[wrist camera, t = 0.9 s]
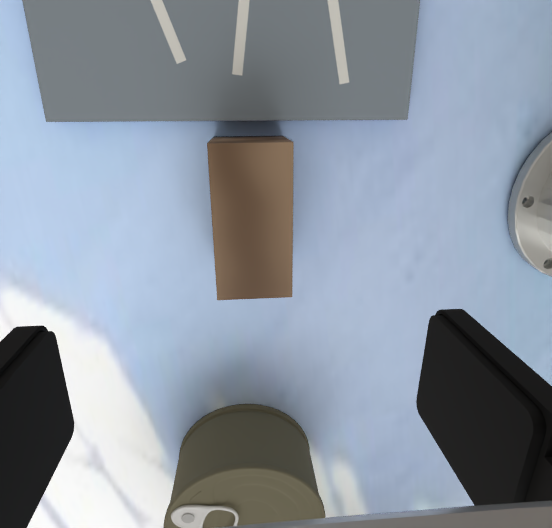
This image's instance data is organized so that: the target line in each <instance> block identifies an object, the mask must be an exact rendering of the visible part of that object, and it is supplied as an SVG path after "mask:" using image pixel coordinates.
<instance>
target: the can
mask: <svg viewBox="0 0 552 528" xmlns="http://www.w3.org/2000/svg"><path fill="white" fill-rule="evenodd" d="M320 518H325V511H324V506H323V503H322V500H321V498H320V496H319V493H318V489H317V484H316V479H315V475H314V470H313V465H312V460H311V456H310V452H309V445H308V441H307V438H306V435H305V433H304V431H303V430H302V428H301V427H300V426H299V424H298V423H297V422H296V421H295V420H294V419H292V418H291V417H290V416H288V415H287V414H285V413H283V412H281V411H279V410H277V409H274V408H271V407H268V406H263V405H257V404H239V405H232V406H227V407H224V408H221V409H218V410H215V411H213V412H211V413H209V414H207V415H206V416H204V417H203V418H201V419H200V420H199V421H197V422H196V423H195V424H194V425H193V426H192V427H191V428H190V430H189V431H188V432H187V434H186V436H185V437H184V440H183V442H182V445H181V448H180V454H179V460H178V465H177V470H176V475H175V481H174V486H173V491H172V496H171V501H170V504H169V506H168V509H167V512H166V515H165V520H164V528H217V527H228V526H240V525H251V524H262V523H274V522H285V521H297V520H308V519H320Z"/></svg>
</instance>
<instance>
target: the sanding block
mask: <svg viewBox="0 0 552 528" xmlns="http://www.w3.org/2000/svg"><path fill="white" fill-rule="evenodd" d="M207 149H208V164H209V180H210V195H211V210H212V226H213V241H214V256H215V271H216V287H217V300H232V299H256V298H281V297H292V254H293V142H292V141H290V140H289V139H287V138H286V137H284V136H223V137H213V138H212V139H211V140H210V141H209V142H208V143H207Z"/></svg>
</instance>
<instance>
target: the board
mask: <svg viewBox="0 0 552 528" xmlns="http://www.w3.org/2000/svg"><path fill="white" fill-rule="evenodd" d="M22 1H23V6H24V11H25V16H26V21H27V26H28V31H29V37H30V42H31V47H32V52H33V57H34V62H35V67H36V72H37V78H38V83H39V88H40V93H41V98H42V103H43V108H44V113H45V118H46V122H99V121H266V120H407V119H408V110H409V101H410V91H411V82H412V72H413V63H414V53H415V44H416V34H417V25H418V15H419V6H420V0H22Z"/></svg>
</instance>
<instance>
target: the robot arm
mask: <svg viewBox="0 0 552 528" xmlns="http://www.w3.org/2000/svg"><path fill="white" fill-rule="evenodd" d="M508 225H509V232H510V236H511V239H512V241H513V244H514V247H515V248H516V250H517V251H518V253H519V254H520V256H521V257H522V258H523V259H524V260H525V261H526V262H527V263H528V264H529V265H530V266H532V267H533V268H535V269H537V270H539V271H540V272H542V273H544V274H547V275H549V276H552V132H551V133H550V134H549V135H548V136H546V137H545V138H544V139H543V140H542V141H541V142H540V144H539V145H538V146H537V147H536V148H535V149H534V150H533V152H532V153H531V154H530V155H529V157H528V159H527V160H526V162H525V163H524V165H523V166H522V168H521V170H520V172H519V174H518V176H517V179H516V181H515V183H514V186H513V189H512V193H511V197H510V201H509V208H508ZM416 402H417V409H418V413H419V415H420V416H421V418H422V420H423V421H424V423H425V425H426V426H427V428H428V430H429V431H430V433H431V434H432V436H433V438H434V439H435V441H436V443H437V444H438V446H439V448H440V449H441V451H442V453H443V454H444V456H445V457H446V459H447V461H448V462H449V464H450V466H451V467H452V469H453V471H454V472H455V474H456V476H457V477H458V479H459V480H460V482H461V484H462V485H463V487H464V489H465V490H466V492H467V494H468V495H469V497H470V498H471V500H472V502H473V503H474V505H475V506H465V507H453V508H441V509H428V510H416V511H404V512H391V513H379V514H367V515H354V516H343V517H331V518H320V519H308V520H297V521H285V522H274V523H262V524H251V525H240V526H228V527H217V528H552V386H551V385H550V384H548V383H547V382H546V381H545V380H544V379H543V378H542V377H540V376H539V375H538V374H537V373H536V372H535V371H534V370H532V369H531V368H530V367H529V366H528V365H527V364H525V363H524V362H523V361H522V360H521V359H520V358H519V357H517V356H516V355H515V354H514V353H513V352H512V351H510V350H509V349H508V348H507V347H506V346H505V345H504V344H502V343H501V342H500V341H499V340H498V339H497V338H495V337H494V336H493V335H492V334H491V333H490V332H489V331H487V330H486V329H485V328H484V327H483V326H482V325H480V324H479V323H478V322H477V321H476V320H475V319H474V318H472V317H471V316H470V315H469V314H468V313H467V312H466V311H464V310H462V309H448V310H439V311H437V313H436V315H435V316H431V318H430V320H429V325H428V331H427V338H426V344H425V350H424V356H423V363H422V369H421V375H420V381H419V388H418V394H417V401H416ZM73 431H74V419H73V414H72V410H71V405H70V400H69V396H68V391H67V387H66V382H65V377H64V373H63V368H62V363H61V359H60V354H59V349H58V345H57V340H56V336H55V334H54V332H52V331H48V330H47V329H46V327H44V326H23V327H16V328H14V329H13V330H12V331H11V332H10V333H9V334H8V335H7V336H6V337H5V338H4V339H3V340H2V341H1V342H0V528H27V526H28V524H29V522H30V520H31V518H32V516H33V514H34V512H35V510H36V508H37V506H38V504H39V502H40V500H41V498H42V496H43V494H44V492H45V490H46V488H47V486H48V484H49V482H50V480H51V478H52V476H53V474H54V472H55V470H56V468H57V466H58V464H59V462H60V460H61V458H62V456H63V454H64V452H65V450H66V448H67V446H68V444H69V442H70V440H71V438H72V435H73Z"/></svg>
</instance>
